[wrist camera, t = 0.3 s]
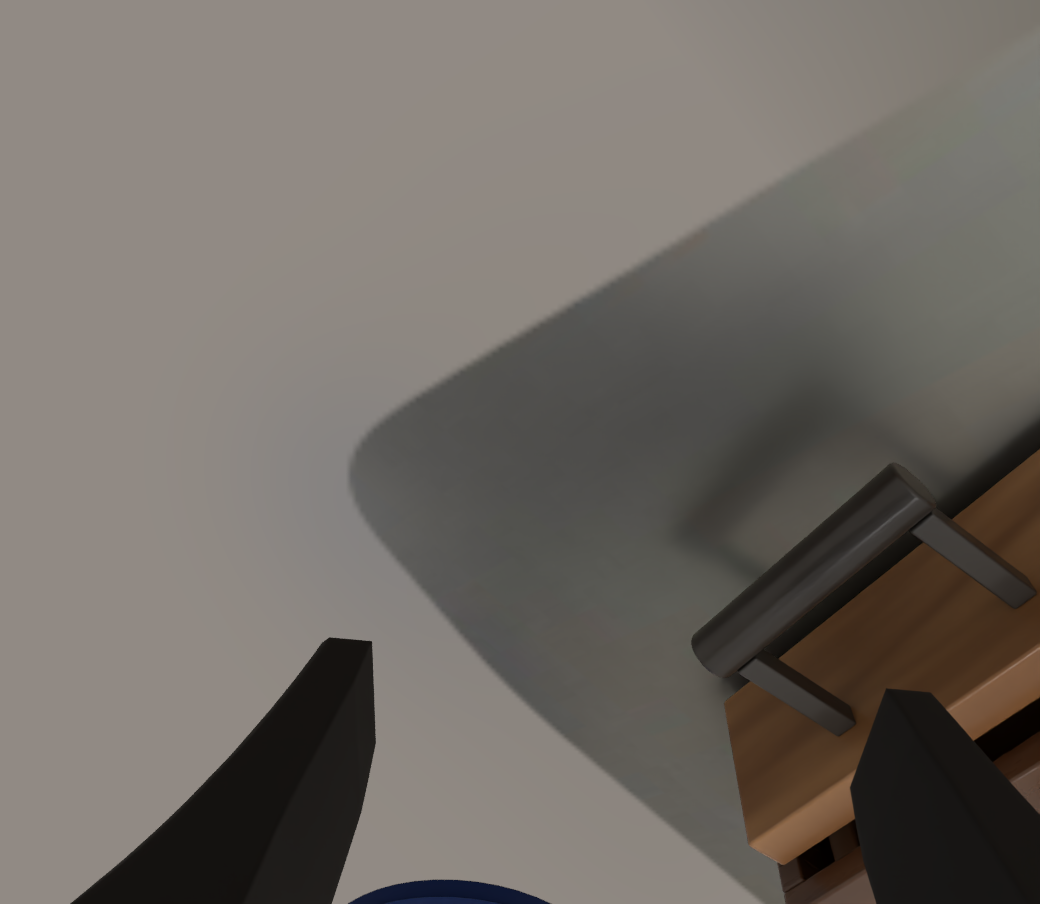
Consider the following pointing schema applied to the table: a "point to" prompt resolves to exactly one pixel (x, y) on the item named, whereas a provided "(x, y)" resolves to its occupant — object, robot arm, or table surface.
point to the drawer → (879, 648)
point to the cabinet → (844, 883)
